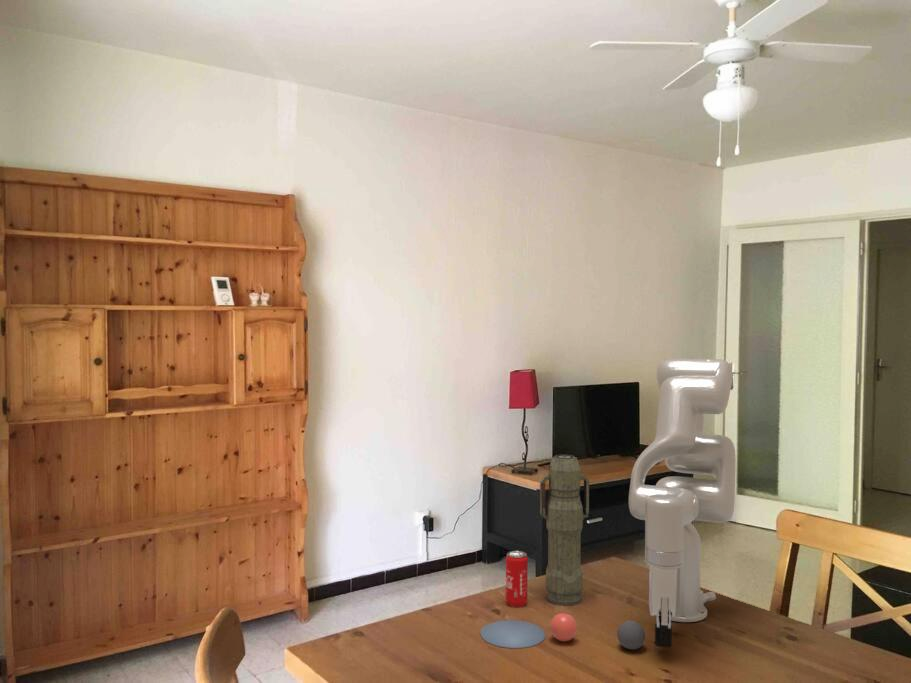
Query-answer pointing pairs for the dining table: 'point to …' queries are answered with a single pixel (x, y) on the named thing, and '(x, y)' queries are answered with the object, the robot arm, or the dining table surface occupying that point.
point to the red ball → (563, 627)
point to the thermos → (564, 529)
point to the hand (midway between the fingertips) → (663, 644)
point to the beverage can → (516, 578)
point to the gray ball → (631, 635)
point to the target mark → (512, 634)
